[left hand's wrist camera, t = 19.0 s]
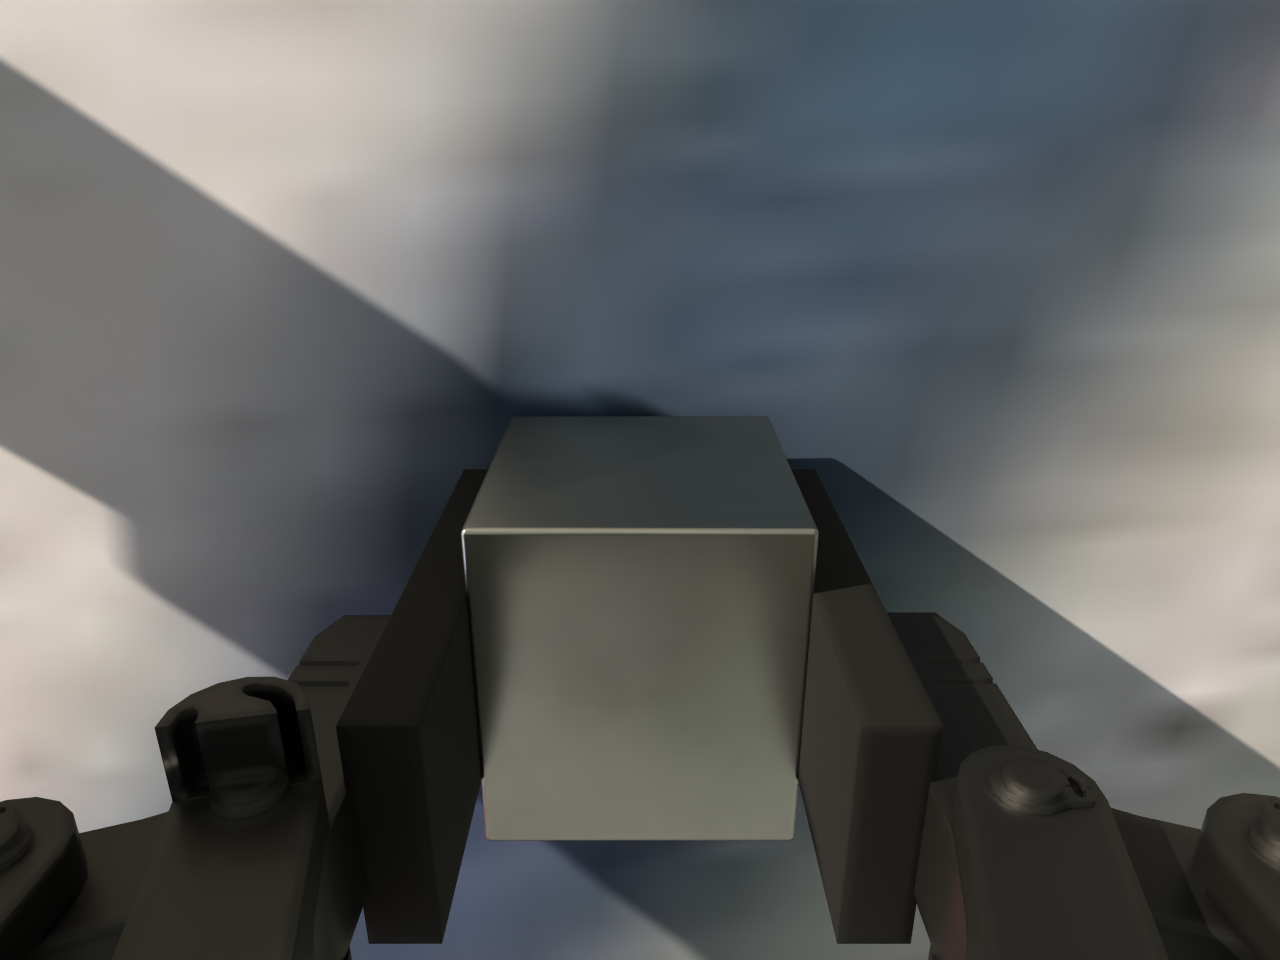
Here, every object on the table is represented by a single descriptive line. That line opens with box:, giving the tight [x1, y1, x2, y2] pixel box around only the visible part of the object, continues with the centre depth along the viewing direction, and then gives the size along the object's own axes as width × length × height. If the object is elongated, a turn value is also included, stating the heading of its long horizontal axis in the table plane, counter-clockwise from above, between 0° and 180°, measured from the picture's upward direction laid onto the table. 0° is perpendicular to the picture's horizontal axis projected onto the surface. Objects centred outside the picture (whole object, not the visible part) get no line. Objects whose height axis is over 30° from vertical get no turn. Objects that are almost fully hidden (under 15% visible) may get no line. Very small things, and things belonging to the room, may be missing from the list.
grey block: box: [461, 416, 819, 841], centre depth 13 cm, size 4×5×4 cm
